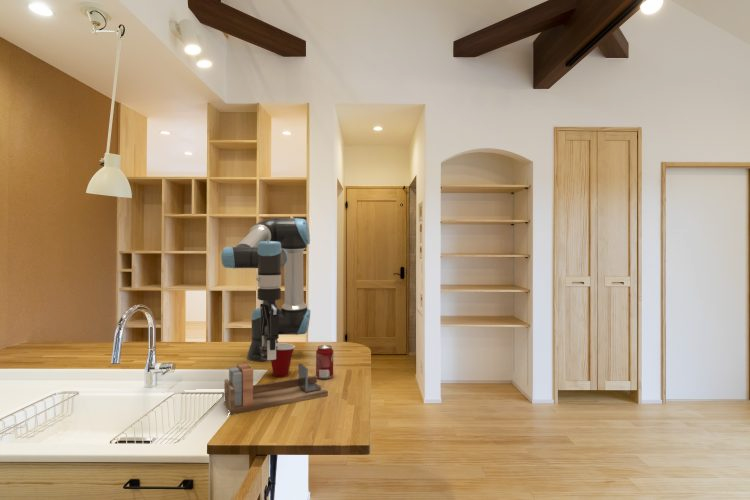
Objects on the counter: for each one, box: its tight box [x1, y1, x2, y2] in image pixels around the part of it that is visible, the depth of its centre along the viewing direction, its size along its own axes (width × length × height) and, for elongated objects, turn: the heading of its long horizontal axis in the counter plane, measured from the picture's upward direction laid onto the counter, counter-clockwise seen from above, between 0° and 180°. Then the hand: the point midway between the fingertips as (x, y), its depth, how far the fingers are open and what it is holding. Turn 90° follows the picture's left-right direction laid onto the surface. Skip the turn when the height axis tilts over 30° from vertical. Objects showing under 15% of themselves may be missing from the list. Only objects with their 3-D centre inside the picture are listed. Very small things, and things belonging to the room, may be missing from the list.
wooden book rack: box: [223, 361, 329, 415], centre depth 134 cm, size 11×32×12 cm, turn 121°
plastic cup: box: [270, 342, 296, 378], centre depth 159 cm, size 11×11×12 cm
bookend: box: [297, 363, 321, 392], centre depth 140 cm, size 7×6×8 cm
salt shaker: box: [260, 325, 278, 360], centre depth 132 cm, size 6×6×12 cm
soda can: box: [315, 344, 334, 380], centre depth 157 cm, size 7×7×12 cm
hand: (268, 357), depth 132 cm, fingers closed on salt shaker, 6 cm apart
